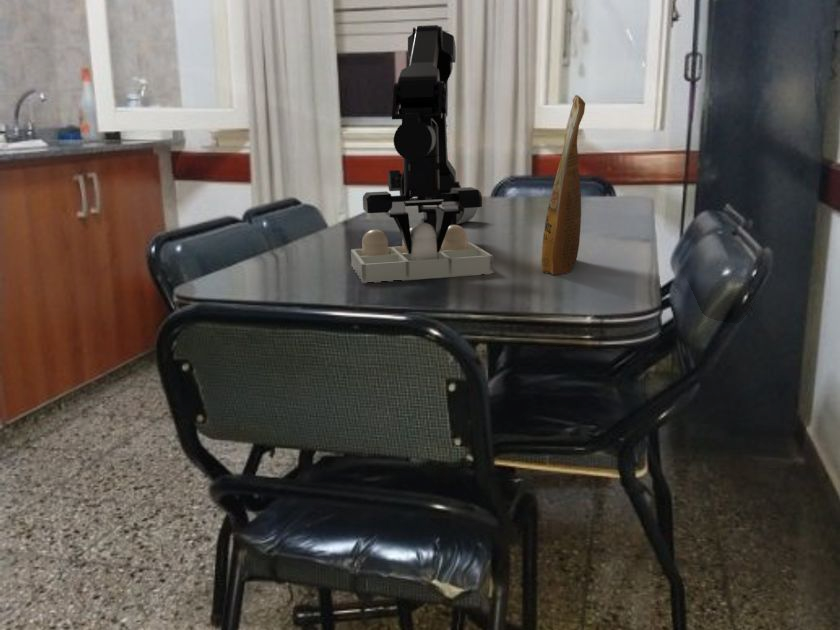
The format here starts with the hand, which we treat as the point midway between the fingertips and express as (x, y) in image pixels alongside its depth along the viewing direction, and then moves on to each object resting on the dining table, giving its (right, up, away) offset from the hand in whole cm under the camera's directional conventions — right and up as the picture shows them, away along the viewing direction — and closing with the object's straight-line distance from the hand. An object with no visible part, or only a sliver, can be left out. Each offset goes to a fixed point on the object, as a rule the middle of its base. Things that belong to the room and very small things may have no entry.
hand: (423, 252), depth 129 cm
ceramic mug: (+7, +11, +57) cm, 59 cm away
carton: (-1, -3, +4) cm, 5 cm away
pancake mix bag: (+24, -2, +4) cm, 24 cm away
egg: (0, -1, 0) cm, 1 cm away
